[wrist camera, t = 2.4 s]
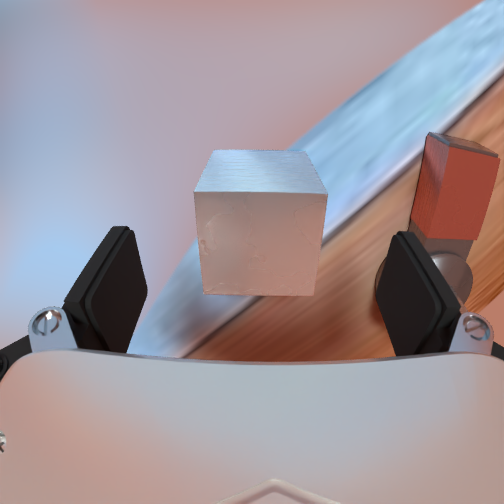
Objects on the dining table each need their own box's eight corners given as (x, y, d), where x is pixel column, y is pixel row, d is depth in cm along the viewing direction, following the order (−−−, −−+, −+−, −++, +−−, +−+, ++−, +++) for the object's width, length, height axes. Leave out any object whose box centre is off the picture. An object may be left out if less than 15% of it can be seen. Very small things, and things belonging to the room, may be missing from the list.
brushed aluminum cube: (299, 230, 19) (313, 295, 14) (217, 229, 19) (203, 294, 14) (305, 151, 16) (327, 193, 11) (213, 149, 17) (193, 191, 12)
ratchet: (408, 127, 15) (469, 162, 10) (491, 146, 15) (553, 184, 10) (366, 310, 23) (387, 376, 18) (438, 306, 23) (467, 363, 18)
